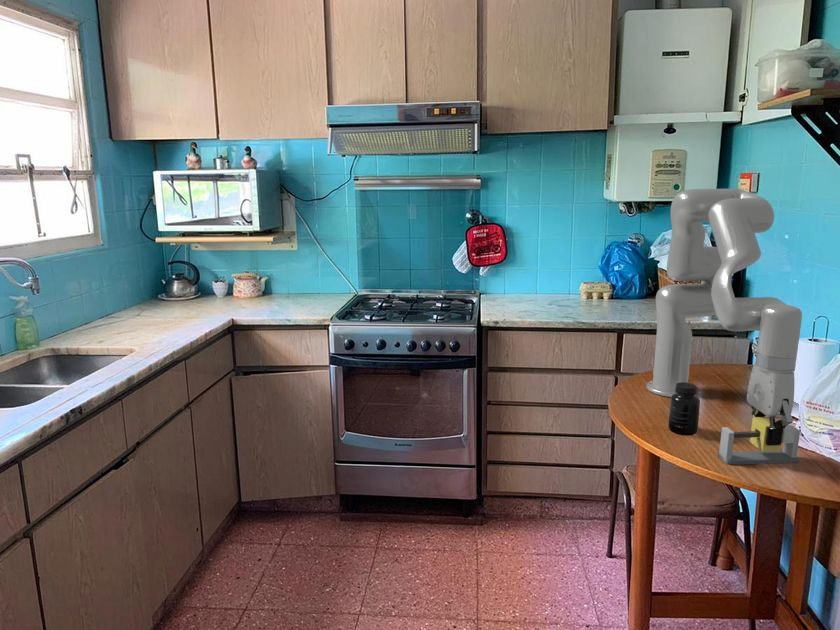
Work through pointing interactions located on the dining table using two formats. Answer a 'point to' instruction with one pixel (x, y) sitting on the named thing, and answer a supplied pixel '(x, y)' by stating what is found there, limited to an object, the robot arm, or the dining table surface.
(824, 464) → the dining table surface
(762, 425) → the olive yellow cube
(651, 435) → the dining table surface
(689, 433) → the supplement bottle
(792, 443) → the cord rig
